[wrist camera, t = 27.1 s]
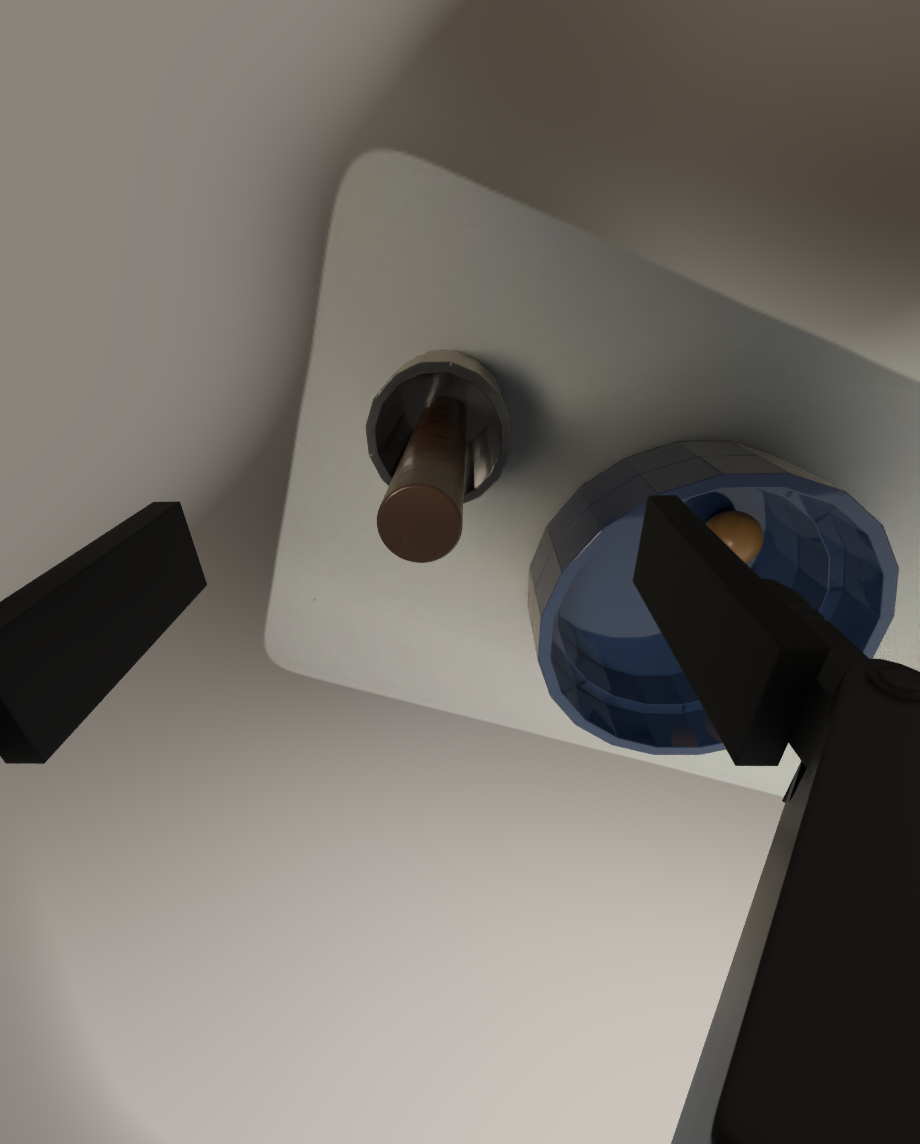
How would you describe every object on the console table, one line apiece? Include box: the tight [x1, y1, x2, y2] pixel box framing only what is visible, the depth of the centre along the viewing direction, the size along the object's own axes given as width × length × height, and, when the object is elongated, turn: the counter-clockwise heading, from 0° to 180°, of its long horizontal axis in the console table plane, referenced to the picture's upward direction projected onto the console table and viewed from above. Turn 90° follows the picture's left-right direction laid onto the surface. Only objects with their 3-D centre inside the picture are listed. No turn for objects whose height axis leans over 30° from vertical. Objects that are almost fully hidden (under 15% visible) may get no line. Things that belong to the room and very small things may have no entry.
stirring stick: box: [377, 396, 467, 563], centre depth 23 cm, size 3×3×16 cm
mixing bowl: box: [528, 441, 899, 755], centre depth 32 cm, size 21×21×7 cm
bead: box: [705, 510, 764, 563], centre depth 31 cm, size 4×4×4 cm
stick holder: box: [366, 350, 511, 504], centre depth 28 cm, size 7×7×6 cm
